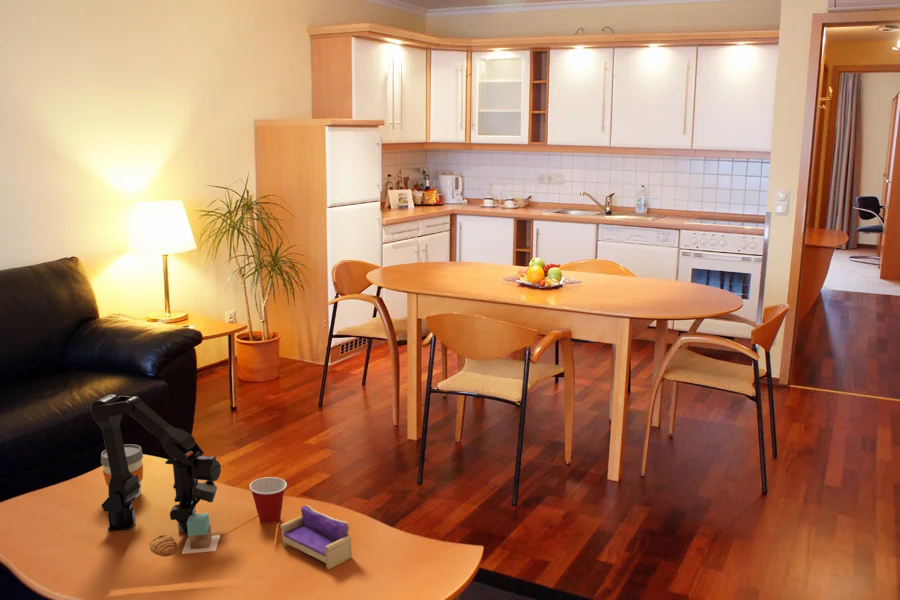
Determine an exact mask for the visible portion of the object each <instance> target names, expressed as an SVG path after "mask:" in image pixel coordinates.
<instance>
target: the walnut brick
mask: <svg viewBox="0 0 900 600" xmlns="http://www.w3.org/2000/svg"><path fill="white" fill-rule="evenodd" d="M211 528H212V527H211V525H210V527H209V530H208V533H207V535H195V536H188V538H189V539H190V549H201V548H209V547H210V543H211V540H212V536H213V535H212V529H211Z"/></svg>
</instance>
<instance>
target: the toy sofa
mask: <svg viewBox="0 0 900 600" xmlns="http://www.w3.org/2000/svg"><path fill="white" fill-rule="evenodd" d="M300 512H301V515H300V516H298V517H296V518H294V519H291V520H288V521H287V522H286V521H285V522H284V523H281V524H280V525H279V526H280V530H281V535H282V536H281V537H282V547H283V548H287V547H289V546H291V547H293V548H295V549H297V550H299V551H301V552H304V553H305V554H307V555H309V556H311V557H313V558H315V559H316V560H319V561H321V562H323V563H325V565H326V569H327V570H330V569H333V568H334V567H336V566H338V565H340V564H342V563H344V562H346V561H347V560H348V561H349V560H350V559H351V558H352V557H353V554H352V539H353V536H352V535H351V534H349V531H350V524H349V522H348V521H346V520H340V519H336V518H334V517H332V516H329V515H327V514H325V513H322V512H320V511H318V510H316V509H314V508H312V507H311V506H310V505H309V504H306V505H305V504H304V506H301V508H300Z"/></svg>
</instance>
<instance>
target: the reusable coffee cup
mask: <svg viewBox="0 0 900 600" xmlns="http://www.w3.org/2000/svg"><path fill="white" fill-rule="evenodd" d="M124 449H125V454H126V459H127V464H128V469H129V471H130V472H131V473H132V474H133V475H138V481H139V484H140V486H141V487H140V488H139V493H138V494H137V495H136V497H135V499H136V498H138V497H140V495H141V494H142V480H143V478H144V464H143V457H144V454H143V450H142V447H141V446H140V445H139V444H131V443H130V444H129V443H128V444H124ZM100 465H102V468H103V470H102V473H103V477H104V481H105V485H106V486H107V487H108V486H109V482H110V478H111V472H110V467H109V462H108V457H107V452H106V449H105V450H102V452H101V454H100Z"/></svg>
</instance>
